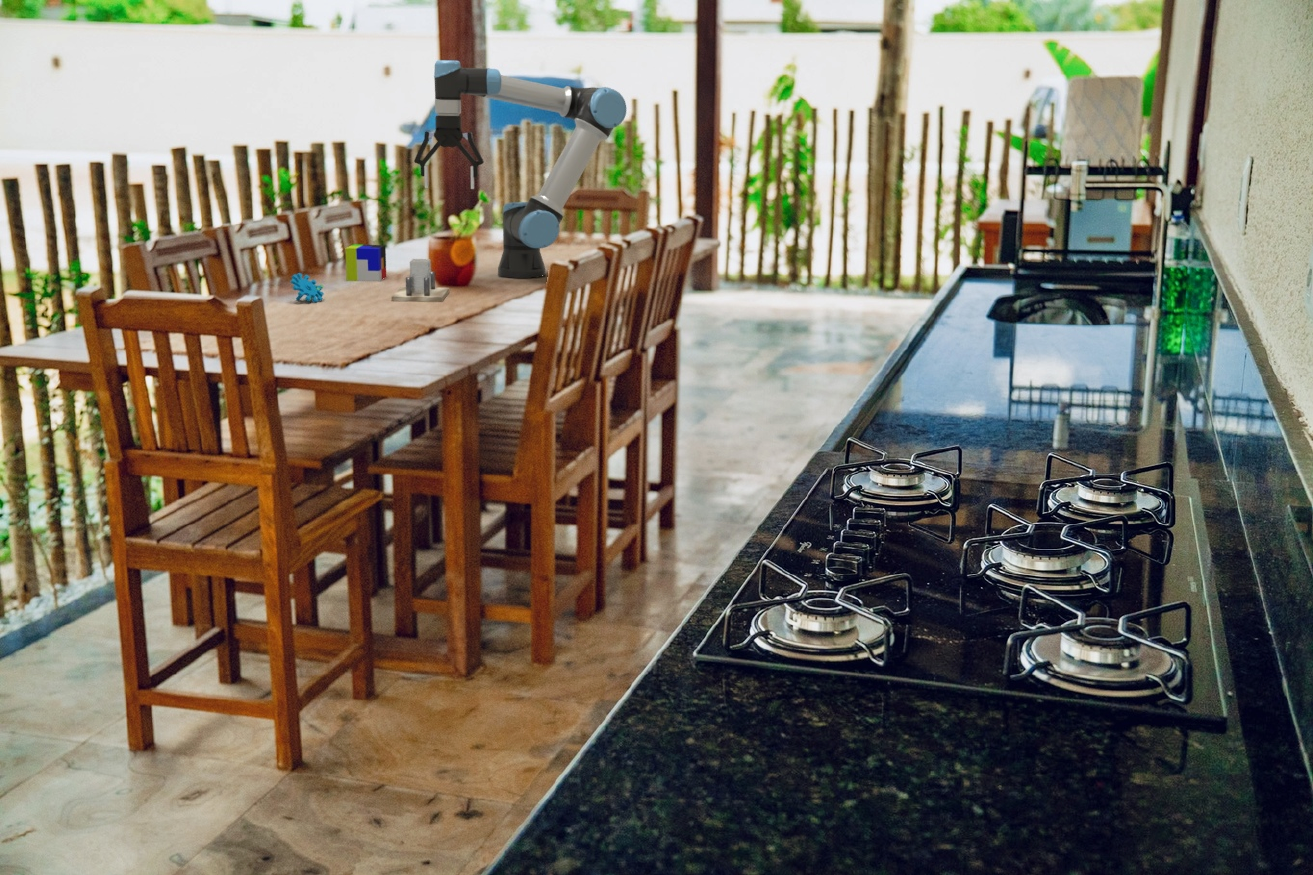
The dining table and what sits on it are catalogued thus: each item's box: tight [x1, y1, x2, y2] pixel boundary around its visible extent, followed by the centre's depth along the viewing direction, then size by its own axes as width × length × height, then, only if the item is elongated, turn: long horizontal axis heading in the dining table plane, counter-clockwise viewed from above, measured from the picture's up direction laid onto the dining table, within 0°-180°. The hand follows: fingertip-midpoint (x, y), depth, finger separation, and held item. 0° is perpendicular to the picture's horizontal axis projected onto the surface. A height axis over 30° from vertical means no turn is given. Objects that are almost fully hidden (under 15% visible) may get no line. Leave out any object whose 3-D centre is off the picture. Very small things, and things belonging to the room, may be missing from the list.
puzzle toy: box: [344, 243, 387, 282], centre depth 407 cm, size 10×10×10 cm
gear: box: [290, 272, 325, 304], centre depth 365 cm, size 11×6×10 cm
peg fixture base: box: [390, 270, 450, 303], centre depth 376 cm, size 14×18×6 cm
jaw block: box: [409, 258, 432, 294], centre depth 376 cm, size 5×7×9 cm
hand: (449, 188), depth 393 cm, fingers open, 13 cm apart
